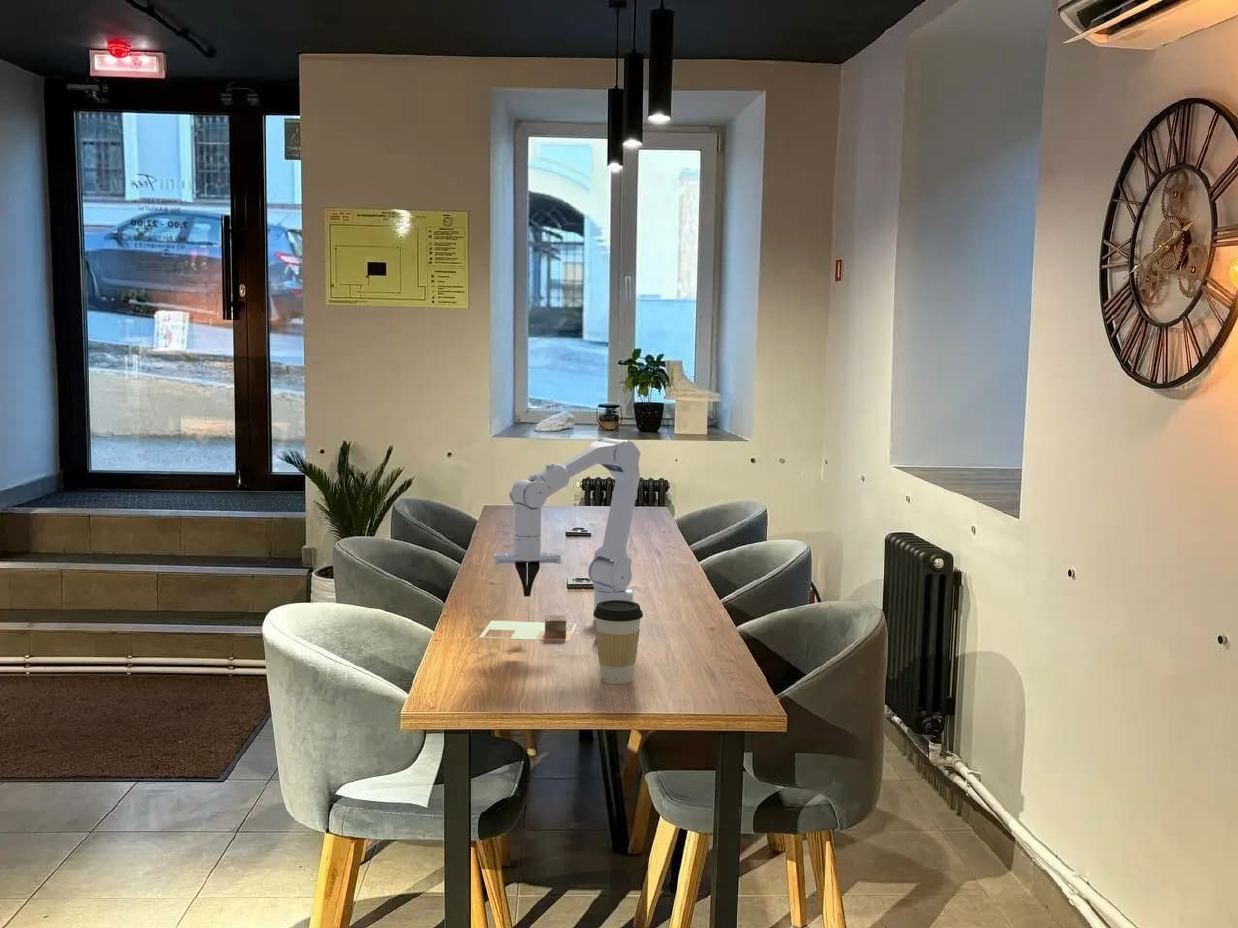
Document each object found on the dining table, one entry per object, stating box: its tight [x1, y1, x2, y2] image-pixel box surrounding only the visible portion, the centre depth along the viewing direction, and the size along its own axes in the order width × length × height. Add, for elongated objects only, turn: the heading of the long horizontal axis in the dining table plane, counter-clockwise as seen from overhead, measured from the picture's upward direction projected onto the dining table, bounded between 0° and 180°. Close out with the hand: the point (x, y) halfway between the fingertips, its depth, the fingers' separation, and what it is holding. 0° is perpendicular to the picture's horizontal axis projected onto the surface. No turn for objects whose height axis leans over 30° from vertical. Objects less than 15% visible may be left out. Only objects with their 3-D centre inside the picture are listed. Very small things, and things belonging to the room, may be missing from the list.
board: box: [478, 620, 578, 642], centre depth 238 cm, size 20×14×2 cm
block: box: [544, 614, 567, 639], centre depth 234 cm, size 4×4×4 cm
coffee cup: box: [593, 600, 644, 685], centre depth 209 cm, size 10×10×15 cm
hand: (527, 595), depth 234 cm, fingers closed
